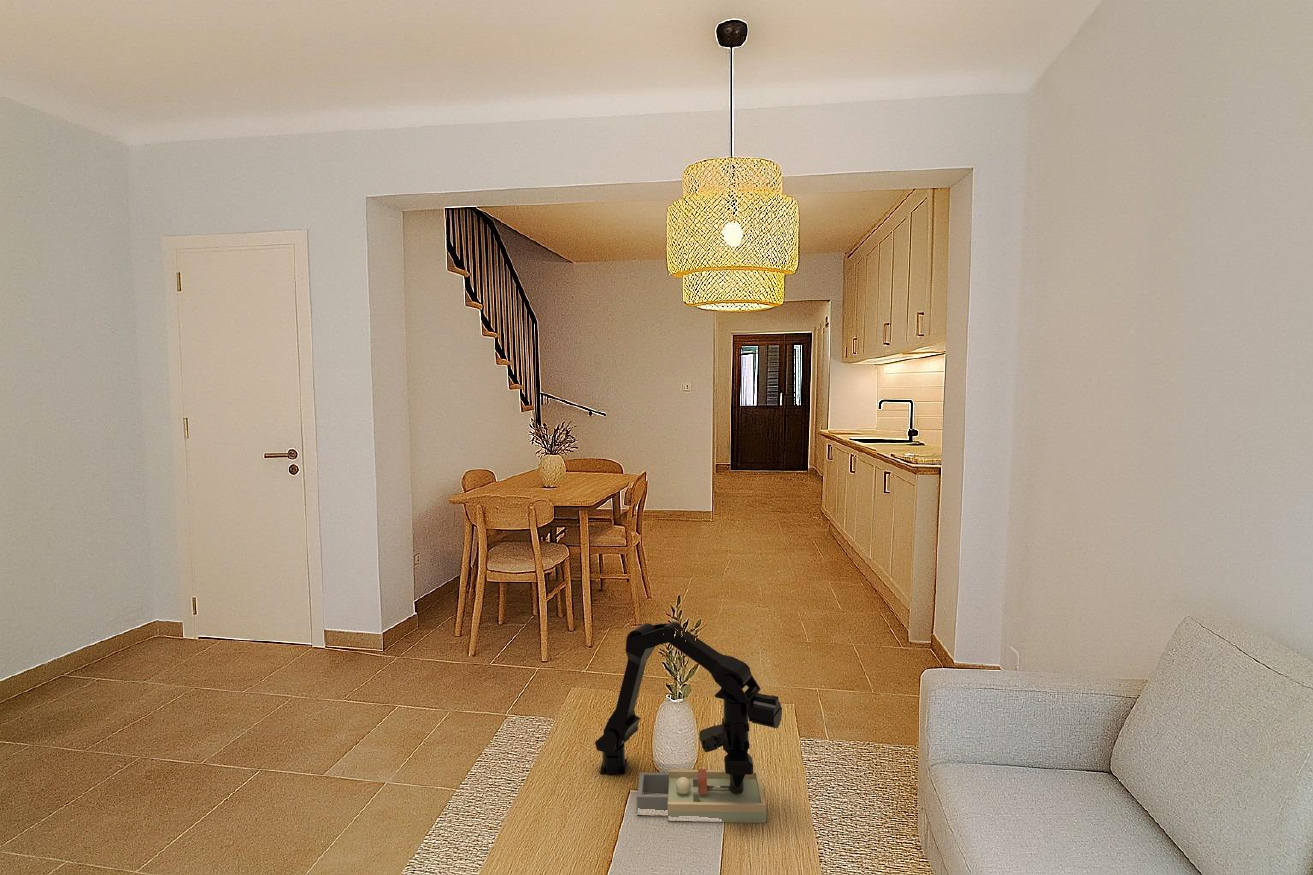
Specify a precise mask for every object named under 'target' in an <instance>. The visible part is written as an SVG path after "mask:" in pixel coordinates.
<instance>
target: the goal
mask: <svg viewBox="0 0 1313 875" xmlns="http://www.w3.org/2000/svg"><path fill="white" fill-rule="evenodd" d="M637 787H638V788H637V793H636V794H637V795H636V796H637V797H636V801H637V802H636V804H637V805H636V806H637V808H640V809H655V810H664V811H665V810H668V792H669V772H641V771H640V772H639V778H638V786H637ZM644 792H650V793H646V794H645V793H644ZM643 793H644V794H643ZM637 808H636V809H637Z"/></svg>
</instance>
